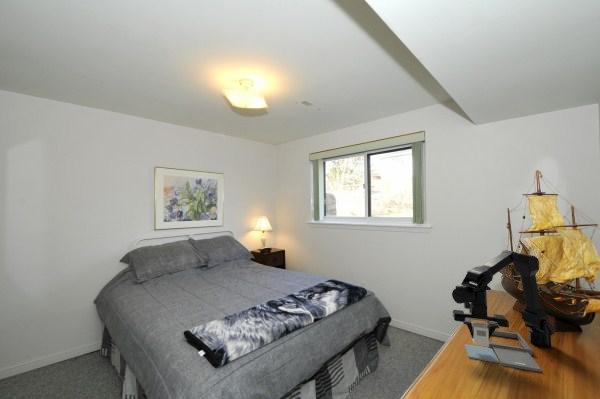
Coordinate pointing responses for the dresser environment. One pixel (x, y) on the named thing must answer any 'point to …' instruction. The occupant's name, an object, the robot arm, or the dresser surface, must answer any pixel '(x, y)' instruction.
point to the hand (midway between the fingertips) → (480, 338)
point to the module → (480, 334)
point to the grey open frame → (514, 353)
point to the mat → (481, 353)
